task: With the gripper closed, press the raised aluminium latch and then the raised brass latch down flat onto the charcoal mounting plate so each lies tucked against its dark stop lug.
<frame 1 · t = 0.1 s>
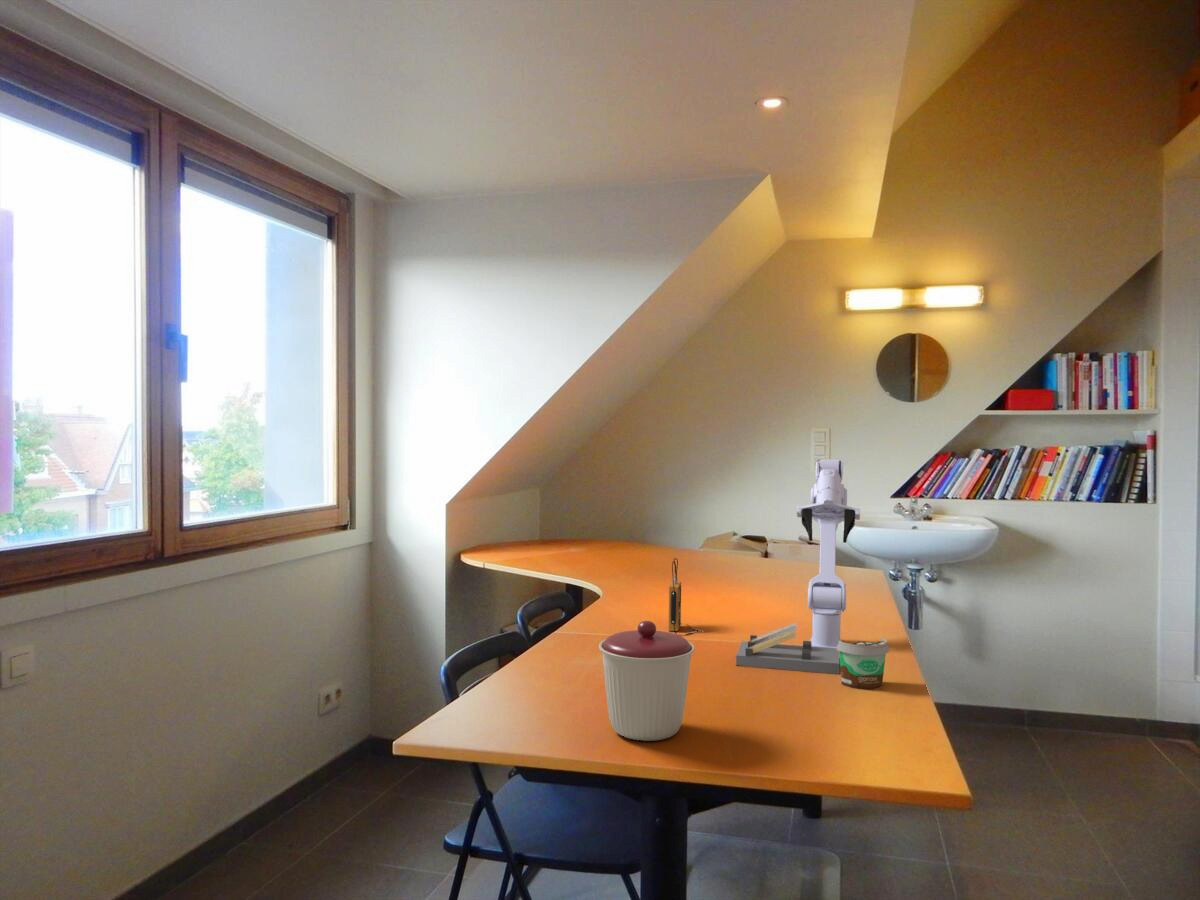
hand: (827, 538, 196), 32 cm above the table, tool tilted 50°, fingers open, 7 cm apart
mounting plate: (788, 661, 208), on the table
aluminium latch: (773, 634, 213), point 6 cm above the table, hinge at 25.0°
riveted handle with loop: (687, 630, 240), on the table
brass latch: (771, 642, 205), point 6 cm above the table, hinge at 25.0°
food container: (867, 687, 189), on the table
canister: (645, 732, 160), on the table
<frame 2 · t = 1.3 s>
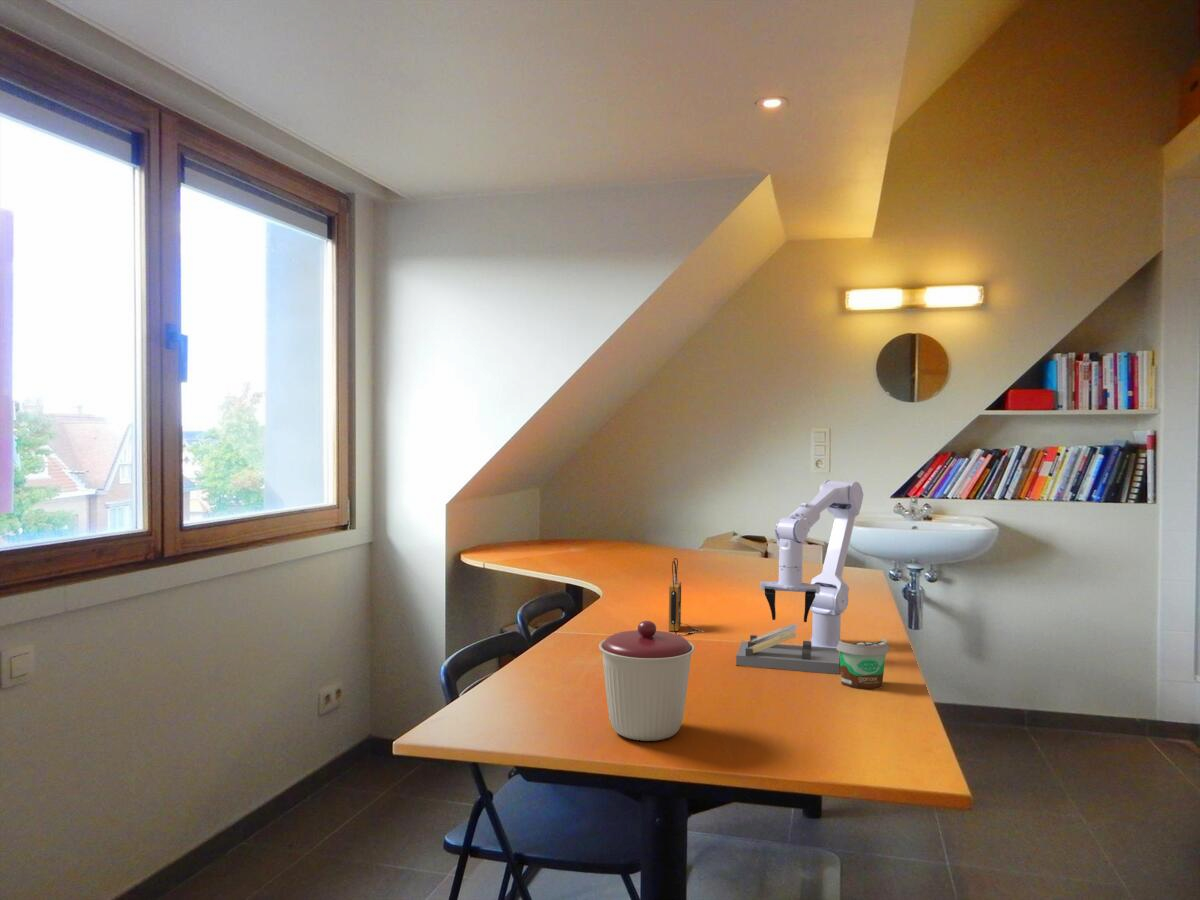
hand: (789, 620, 212), 9 cm above the table, tool pointing down, fingers open, 7 cm apart
nothing on the table moved.
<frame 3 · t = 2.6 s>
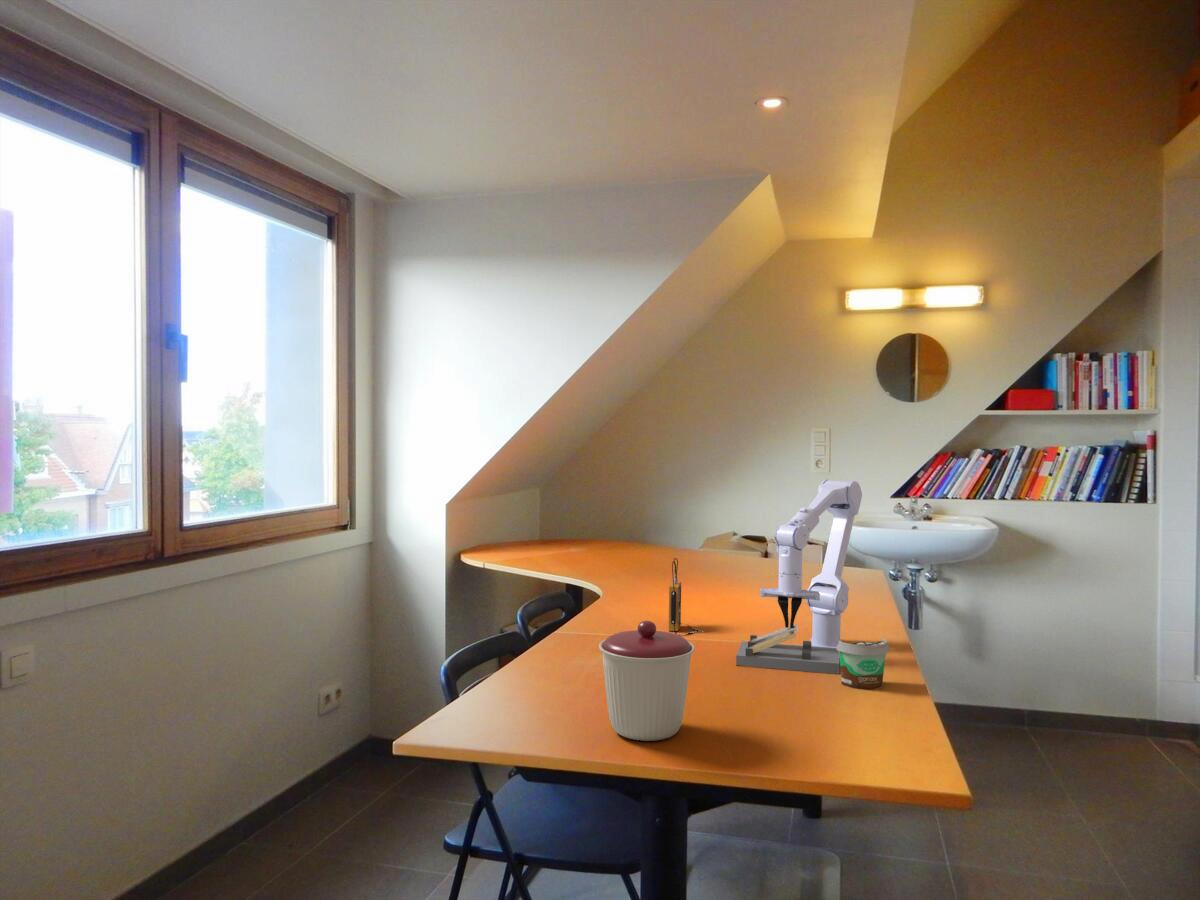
hand: (789, 627, 212), 8 cm above the table, tool pointing down, fingers closed
aluminium latch: (774, 635, 213), point 5 cm above the table, hinge at 23.0°, touching gripper
everything else where it was.
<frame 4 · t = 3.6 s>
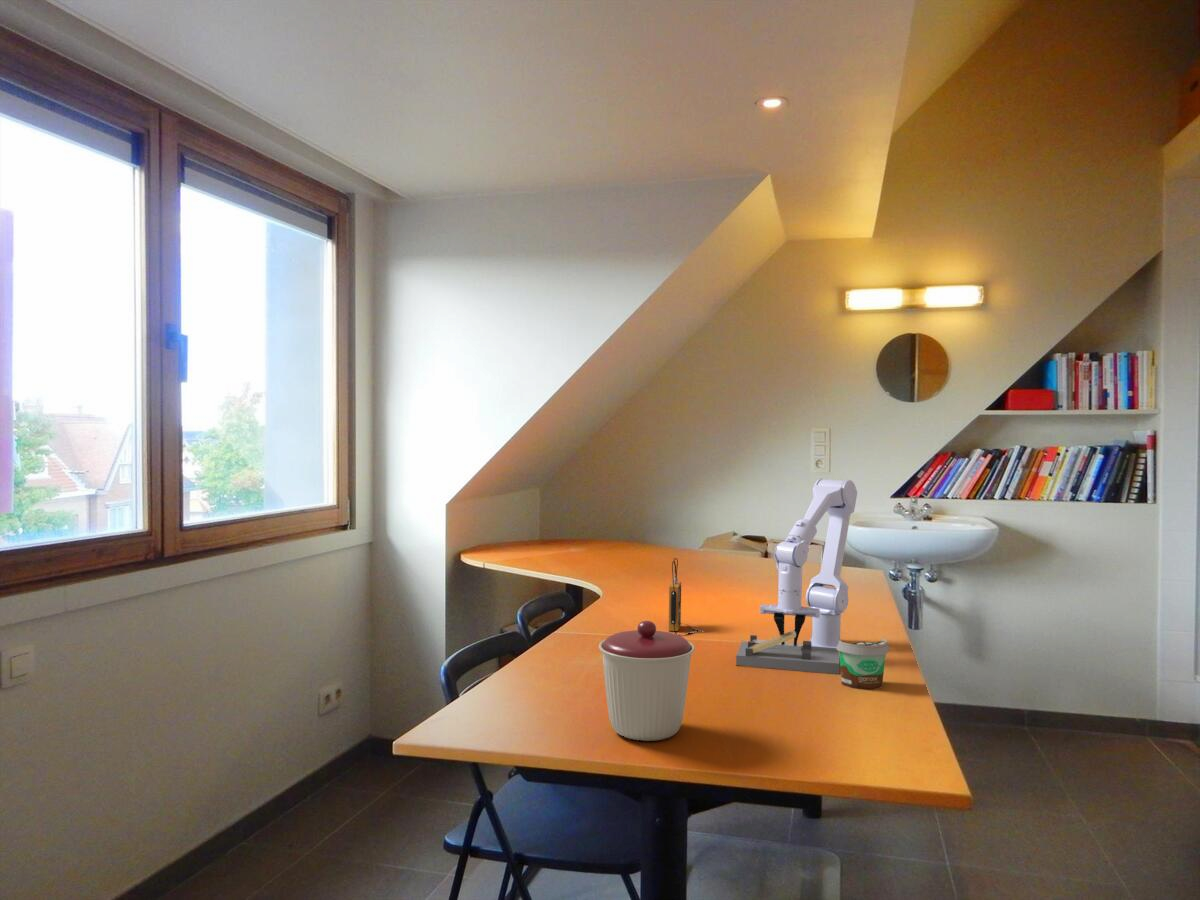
hand: (789, 644, 212), 3 cm above the table, tool pointing down, fingers closed on aluminium latch, 2 cm apart
aluminium latch: (776, 644, 213), point 3 cm above the table, hinge at -0.5°, touching gripper, mounting plate
everything else where it was.
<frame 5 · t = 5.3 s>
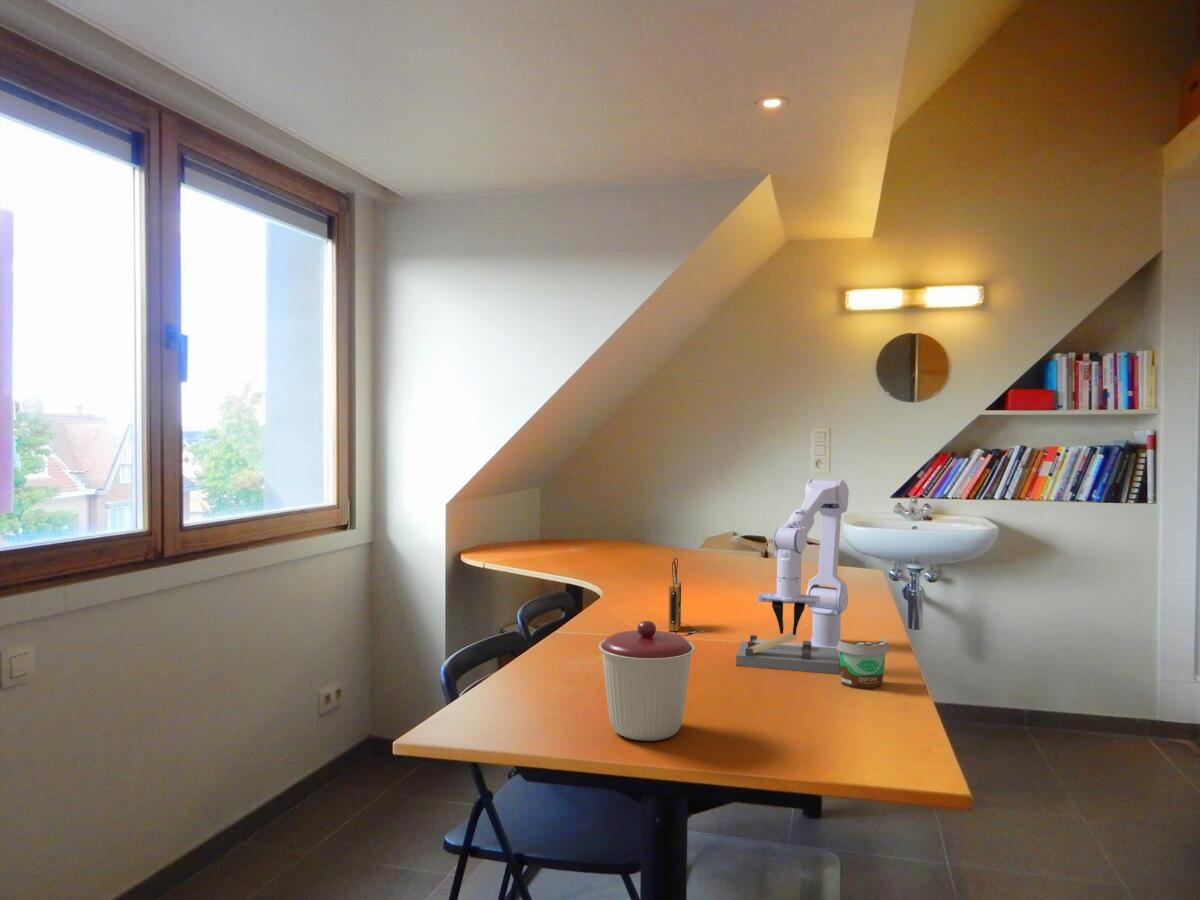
hand: (788, 633, 204), 8 cm above the table, tool pointing down, fingers closed
aluminium latch: (776, 644, 213), point 3 cm above the table, hinge at -0.5°, touching mounting plate
brass latch: (772, 643, 205), point 5 cm above the table, hinge at 23.0°, touching gripper
everything else where it was.
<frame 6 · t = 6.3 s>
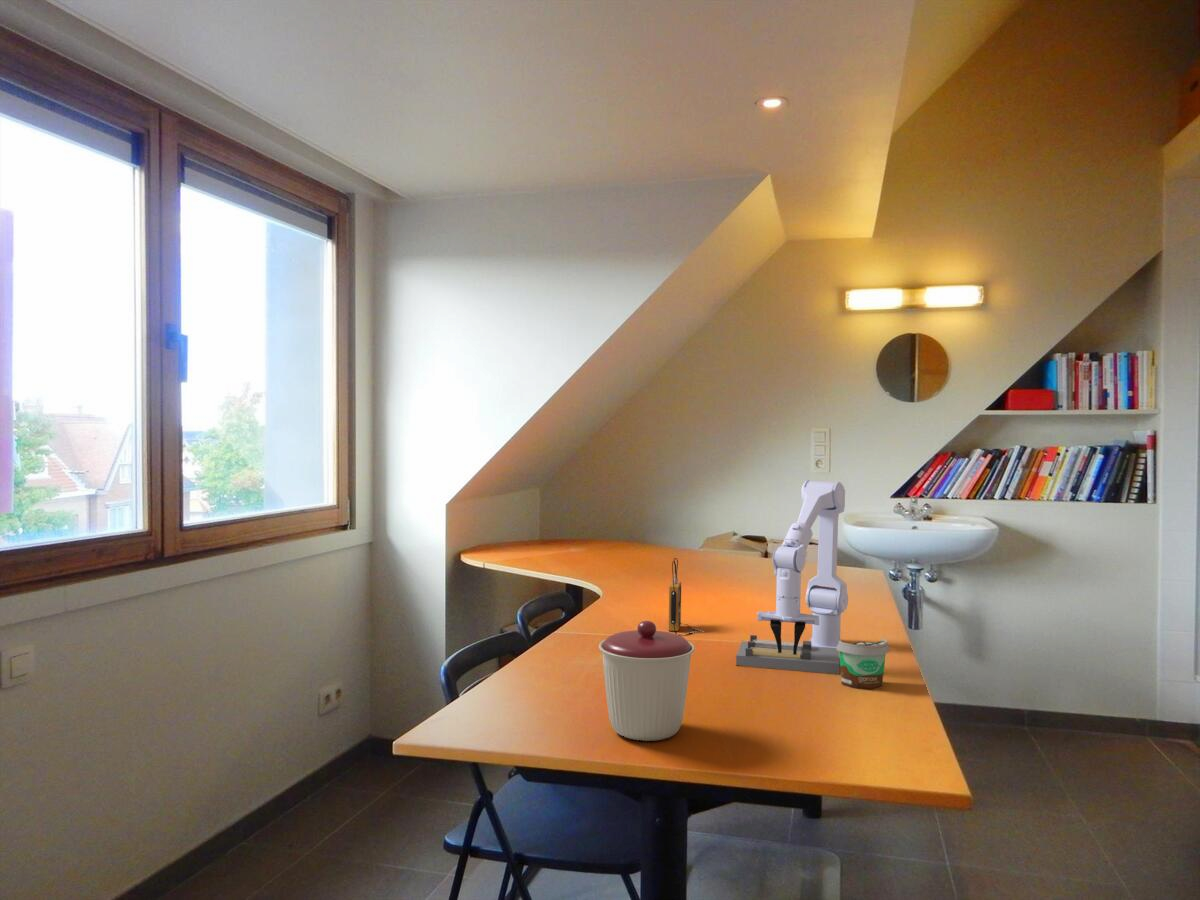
hand: (787, 652, 204), 3 cm above the table, tool pointing down, fingers closed on brass latch, 3 cm apart
brass latch: (775, 653, 205), point 3 cm above the table, hinge at -0.6°, touching gripper, mounting plate
everything else where it was.
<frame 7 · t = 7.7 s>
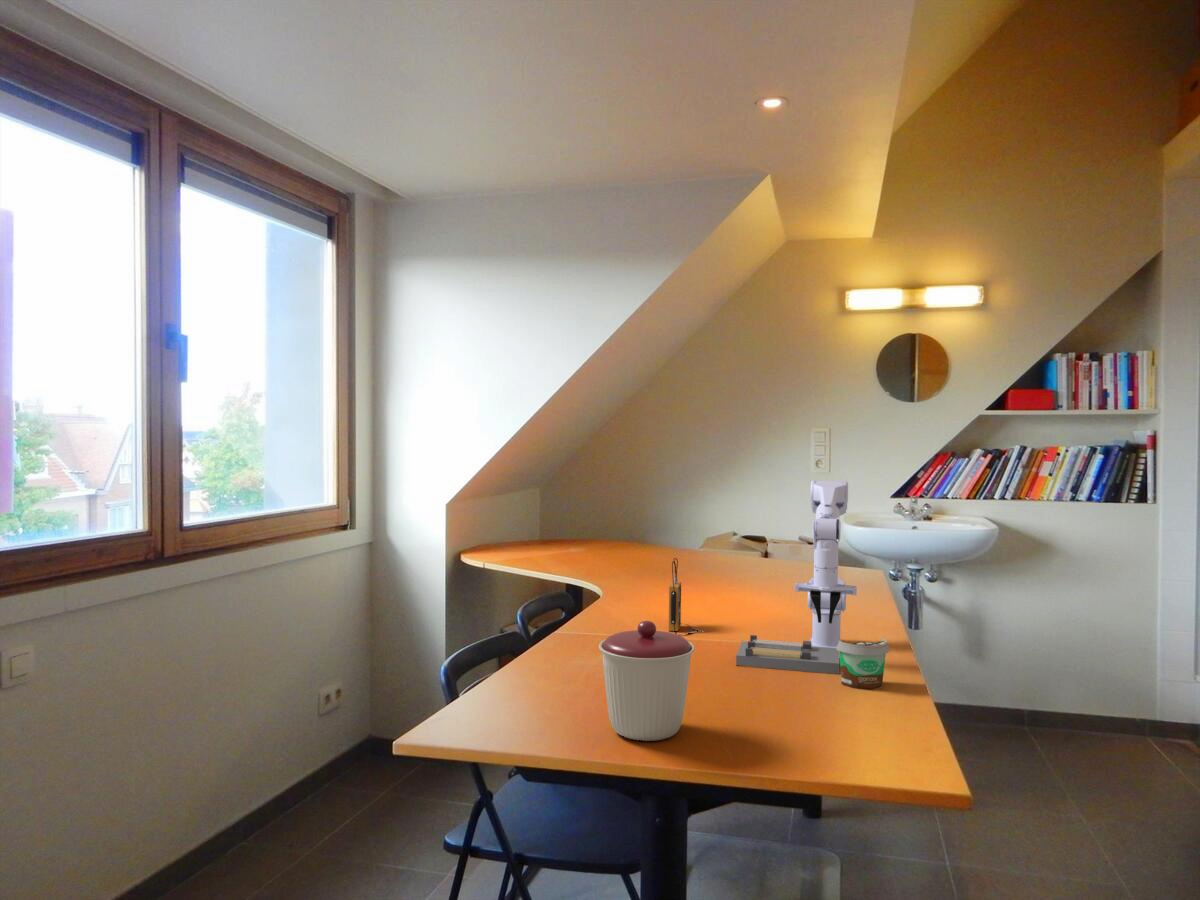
hand: (824, 622, 207), 10 cm above the table, tool pointing down, fingers closed
brass latch: (775, 653, 205), point 3 cm above the table, hinge at -0.6°, touching mounting plate
everything else where it was.
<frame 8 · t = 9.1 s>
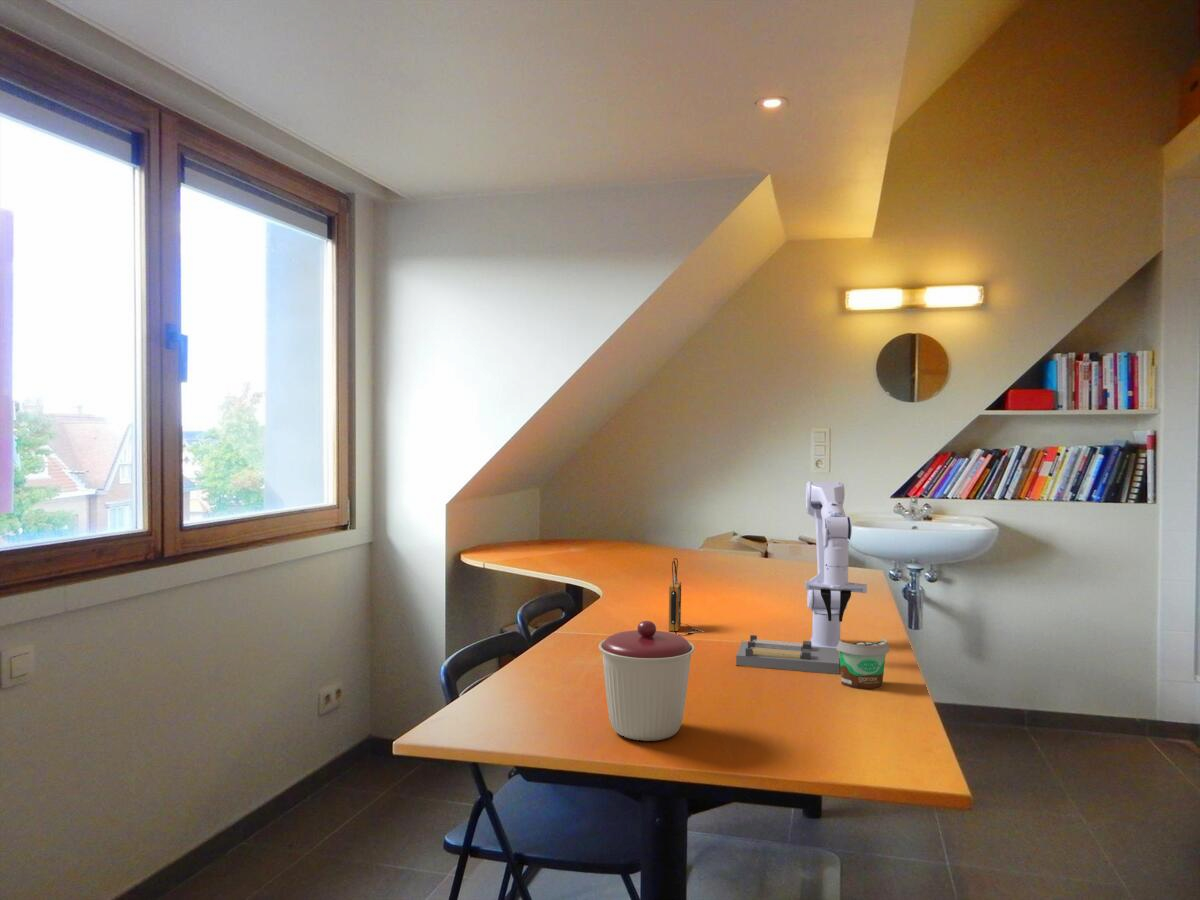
hand: (835, 620, 208), 10 cm above the table, tool pointing down, fingers closed
nothing on the table moved.
at the end: aluminium latch at +0° (first picture: +25°); brass latch at -1° (first picture: +25°) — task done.
